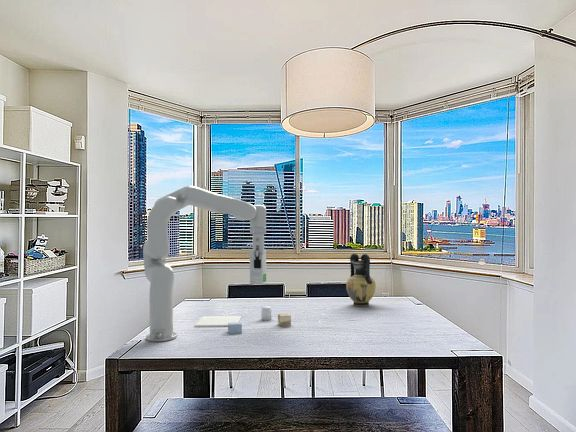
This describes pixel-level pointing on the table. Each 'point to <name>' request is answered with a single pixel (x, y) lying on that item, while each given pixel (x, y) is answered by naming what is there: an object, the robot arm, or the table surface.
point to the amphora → (360, 281)
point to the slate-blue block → (235, 327)
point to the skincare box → (258, 269)
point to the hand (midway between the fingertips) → (258, 267)
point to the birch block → (284, 319)
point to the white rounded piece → (266, 313)
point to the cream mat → (217, 321)
